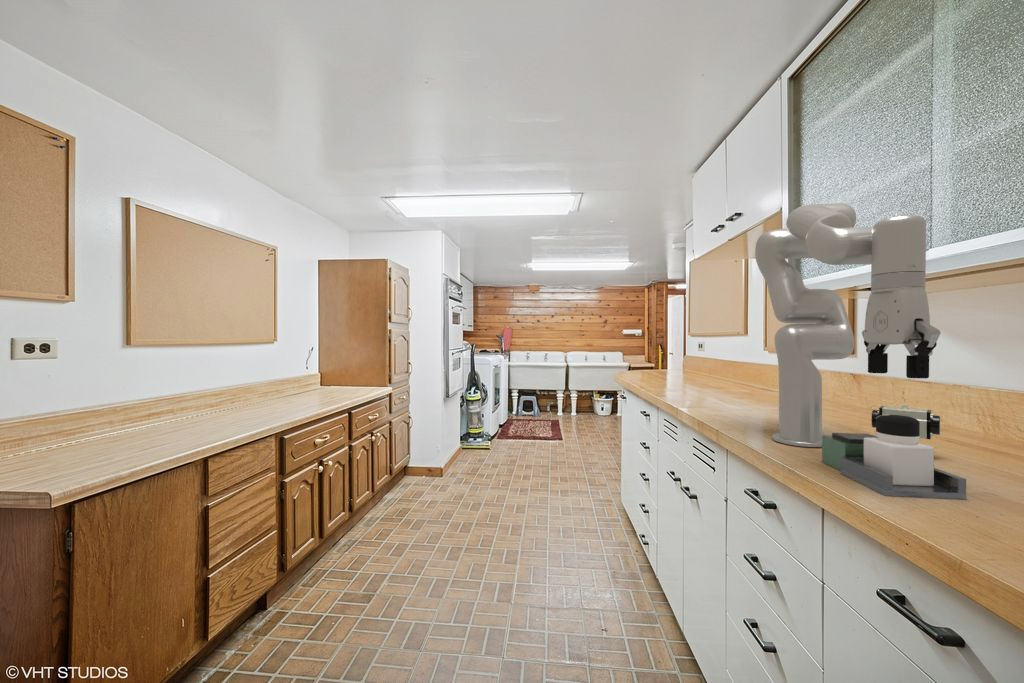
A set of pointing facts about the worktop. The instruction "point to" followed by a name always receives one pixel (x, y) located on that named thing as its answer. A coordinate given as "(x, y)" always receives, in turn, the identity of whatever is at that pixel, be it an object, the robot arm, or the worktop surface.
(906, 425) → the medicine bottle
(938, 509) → the worktop surface
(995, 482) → the worktop surface
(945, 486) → the grey and green bracket
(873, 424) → the pneumatic valve
